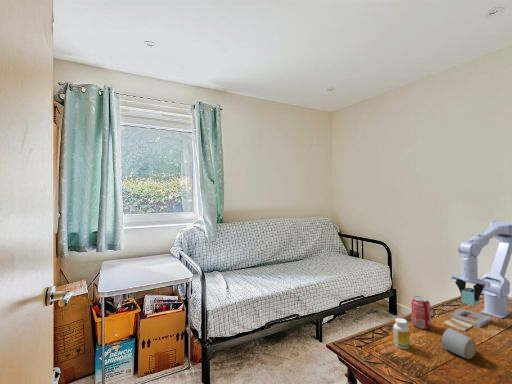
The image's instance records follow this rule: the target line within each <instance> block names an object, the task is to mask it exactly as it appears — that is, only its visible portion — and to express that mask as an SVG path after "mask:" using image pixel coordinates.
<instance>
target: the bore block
mask: <svg viewBox="0 0 512 384" xmlns="http://www.w3.org/2000/svg"><path fill="white" fill-rule="evenodd" d="M465 315H466V316H469V317H472V318H475V319H476V320H474V319H471V318H469V317H466V316H465ZM451 318H454V319H457V320H460V321H463V322H466V323H469V324H471V325H473V327H474V326H475V327H477V328H481V327H483V326H484V325H486V324H488V323H489V322H491V321H492V318H491V316H488V315H487V316H486V315H485V314H481V313H478V312H474V311H471V310H469V309H465V308H461V309H458V310H456V311H455V312H452V313H451V314H450V319H451Z"/></svg>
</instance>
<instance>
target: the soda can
mask: <svg viewBox="0 0 512 384" xmlns="http://www.w3.org/2000/svg"><path fill="white" fill-rule="evenodd" d="M431 310H432V309H431V304H430V301H429V299H428V298H427V297H426V296H422V295H421V296H420V295H414V296H413V297H412V299H411V322H412V323H411V324H412V325H414V326H415V327H416V328H418V329H421V330H426V329H429V328H430V327H431V325H432V324H431V323H432V315H431V312H432V311H431Z"/></svg>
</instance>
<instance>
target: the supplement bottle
mask: <svg viewBox="0 0 512 384" xmlns="http://www.w3.org/2000/svg"><path fill="white" fill-rule="evenodd" d="M394 321H395V323H394V324H393V326H392V327H393V328H392V330H393V344H394V346H395V347H397V348H400V349H404V350H406V349H409V348H410V328H409V326H408V320H406V319H405V318H401V317H400V318H399V317H397V318H395V320H394Z"/></svg>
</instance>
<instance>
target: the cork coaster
mask: <svg viewBox="0 0 512 384" xmlns="http://www.w3.org/2000/svg"><path fill="white" fill-rule="evenodd" d="M442 324H443V325H446V326H449V327H450V328H451V327H452V328H454V329H456V330H459V331H461V332H465V331H468V330H469V329H471V328H473V327H474V325H471V324H469V323H466V322H463V321H460V320H457V319H454V318H451V317H450V318H449V319H447V320H445V321H444V322H443V323H442Z"/></svg>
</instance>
